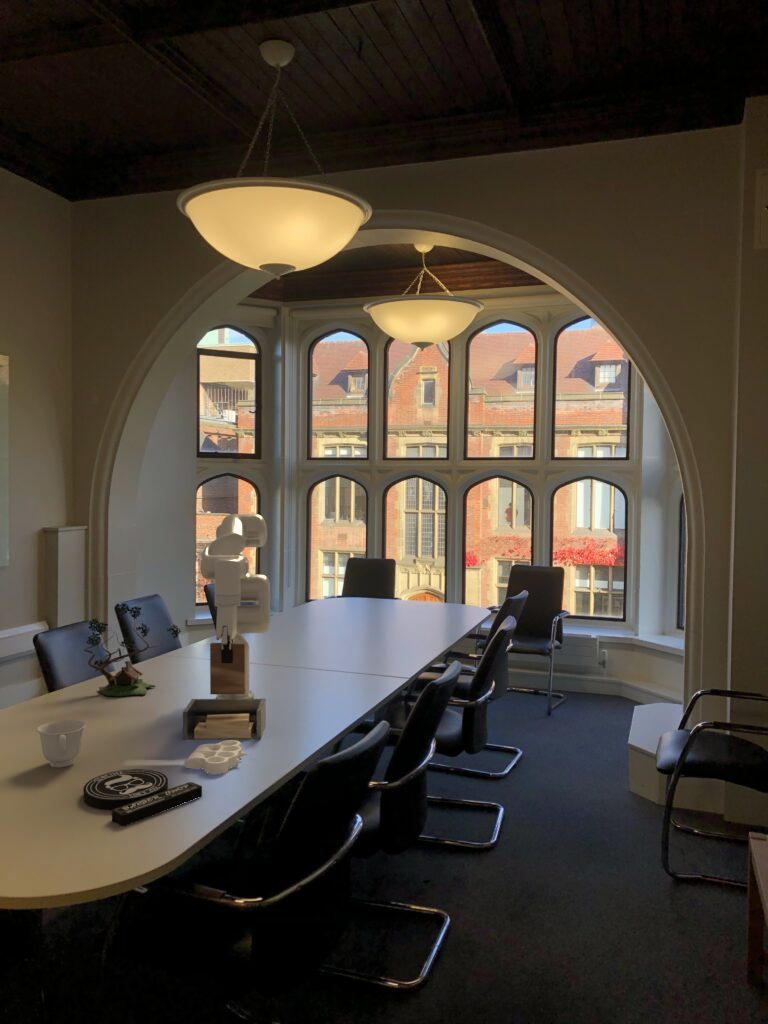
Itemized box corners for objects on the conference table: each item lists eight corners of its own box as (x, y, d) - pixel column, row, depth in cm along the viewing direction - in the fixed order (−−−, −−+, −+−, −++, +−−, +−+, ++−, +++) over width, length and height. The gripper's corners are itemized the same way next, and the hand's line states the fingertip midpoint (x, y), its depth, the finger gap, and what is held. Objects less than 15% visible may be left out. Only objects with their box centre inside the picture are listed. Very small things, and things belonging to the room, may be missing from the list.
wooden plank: (211, 692, 241) (211, 642, 240) (245, 692, 242) (245, 642, 241) (210, 694, 239) (210, 644, 238) (244, 694, 240) (244, 644, 239)
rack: (192, 729, 242) (191, 699, 242) (265, 728, 243) (265, 698, 243) (183, 743, 229) (182, 711, 229) (261, 743, 230) (261, 711, 230)
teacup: (37, 778, 203) (36, 739, 202) (36, 759, 216) (36, 722, 216) (88, 772, 207) (88, 733, 207) (84, 753, 221) (84, 717, 221)
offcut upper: (207, 723, 236) (207, 715, 236) (249, 721, 238) (249, 713, 238) (205, 730, 230) (205, 721, 230) (248, 728, 232) (248, 720, 232)
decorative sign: (203, 798, 192) (141, 773, 208) (203, 786, 192) (141, 762, 208) (123, 828, 176) (63, 798, 191) (122, 815, 176) (62, 787, 191)
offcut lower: (198, 730, 238) (198, 722, 237) (253, 730, 238) (253, 721, 238) (194, 738, 231) (194, 729, 230) (250, 738, 231) (250, 729, 231)
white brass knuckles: (200, 751, 225) (252, 752, 224) (180, 775, 207) (236, 776, 206) (200, 739, 225) (252, 740, 224) (179, 762, 207) (236, 763, 206)
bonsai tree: (68, 703, 268) (67, 608, 267) (94, 684, 293) (93, 597, 291) (174, 704, 269) (174, 609, 267) (191, 685, 293) (191, 598, 292)
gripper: (219, 596, 247) (219, 655, 248) (210, 604, 231) (210, 668, 232) (243, 596, 247) (244, 655, 248) (236, 604, 231) (236, 668, 232)
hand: (227, 661), depth 240 cm, fingers closed on wooden plank, 2 cm apart
